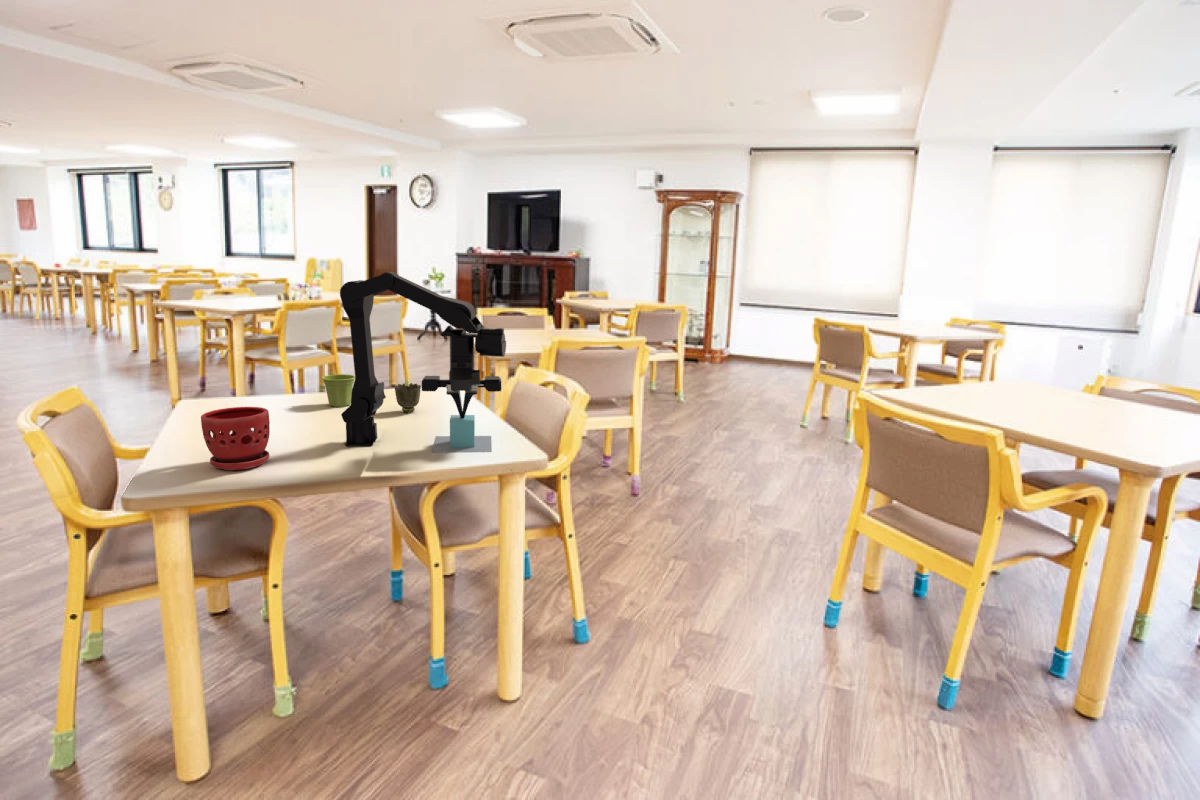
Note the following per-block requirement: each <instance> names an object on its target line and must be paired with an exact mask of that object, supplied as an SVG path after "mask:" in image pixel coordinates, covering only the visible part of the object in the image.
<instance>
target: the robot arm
mask: <svg viewBox="0 0 1200 800" xmlns="http://www.w3.org/2000/svg"><path fill="white" fill-rule="evenodd" d="M388 291H390V292H392V293H394V294H395V295H396V294H397V295H398V296H400V297H403V298H405V299H407V300H409V301H411V302H413V303H415V304H417V305H419V306H422V307H424V308H426V309H427V310H430V311H432V312H434V313H435V314H436V315H437V316H439V317H440V319H442V320H443V321H444V322H446V323H447V324H448V325H447V326H446V328H444V329H445V330H443V331H442V332H440V336H441V337H449V373H448V379H441V377H440V375H425V376H424V377H423V378H422V380H421V391H422V392H436V391H437V390H438V389H439V388H445V390H446V392H445V393H446V395H450V396H451V398H452V399H453V401H454V404H455V405H456V406H455V407H456V408H457V411H458V415H460V418H464V417H465V415H467V409H468V407H469V404H470V401H471V400H472V398H473V396H475V395H478V391H479V390H478V388H484V389H485V390H486V391H487V392H502V378H501V377H500V376H499V375H494V376H493V375H484V379H481V370H480V369H475V352H476V353H478V354H479V356H481V357H497V358H498V357H501V358H504V357H505V356H506V351H507V340H506V335H505V329H504V327H496V328H487V327H485V326H484V325H483V323H482V322H481V321H480V320H479V318H478V316H477V313H476V309H475V306H474V305H473V304H472V303H470V302H469V301H465V300H461V299H457V298H453V297H449V296H444V295H441V294H440V293H436V292H434V291H433V290H430V289H428V288H426V287H424V286H423V285H420V284H418V283H415V282H413V281H411V280H410V279H407V278H405V277H403V276H400V275H399V273H396V272H395V271H388V272H383V273H382V274H380V275H377V276H374V277H370V278H369V279H364V280H361V279H360V280H359V279H358V280H351V281H347V282H345V283H344V284H343V285H342V286H341V287H340V289H339V297H340V300H341V304H342V308H343V310H344V312H345V314H346V317H348V320H349V328H350V338H351V347H352V348H351V349H352V359H353V367H354V369H353V370H354V376H355V379H354V383H353V387H352V394H351V404H350V405H348V407H347V408H346V409H345V410H344V411H343V412H342V413H341V418H342V421H343V422H344V423H345V437H346V438H345V439H346V440H345V441H346V442H345V443H344V445H345V446H346V447H349V446H350V447H357V446H358V447H361V446H363V447H364V446H366V447H367V446H373V445H374V443H375V442H376V441H377V439H378V425H377V422H375V415H376V413H377V410H379V409H380V408H381V407H382V405H383V404H384V399H386V398H387V396H386V395H385V382H382V381H381V382H379V381H378V379H377V377H376V375H375V362H374V353H373V352H374V351H373V341H372V334H371V333H372V331H371V329H372V328H371V322H370V319H371V314H372V310H373V307H374V298H375V296H377V295H380V294H383V293H385V292H388ZM461 391H463V392H464V391H465V392H464V398H463V404H462V397H461V396H462V395H461Z"/></svg>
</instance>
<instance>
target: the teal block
mask: <svg viewBox="0 0 1200 800" xmlns="http://www.w3.org/2000/svg"><path fill="white" fill-rule="evenodd" d="M475 416H476V415H474V414H465V417H464V418H460V415H459V414H451V415H450V418H449V436H450V447H474V443H475V436H476V435H475V434H476V433H475V432H476V431H475V425H476V423H475V420H476V419H475Z"/></svg>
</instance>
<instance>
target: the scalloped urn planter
mask: <svg viewBox="0 0 1200 800" xmlns="http://www.w3.org/2000/svg"><path fill="white" fill-rule="evenodd" d="M393 388H394V392H395V399H396V402H397V405H399V407H401V412H402V413H406V414H411V413H413V412H415V410H416V409H415V407H416V406H417V405H418V404H419V403H420V397H421V390H422V384H421V385H420V384H417V383H413V382H411V383H409V385H406V384H405V383H403V384H400V383H398V384H397V385H396V384H395V386H394V387H393Z"/></svg>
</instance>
